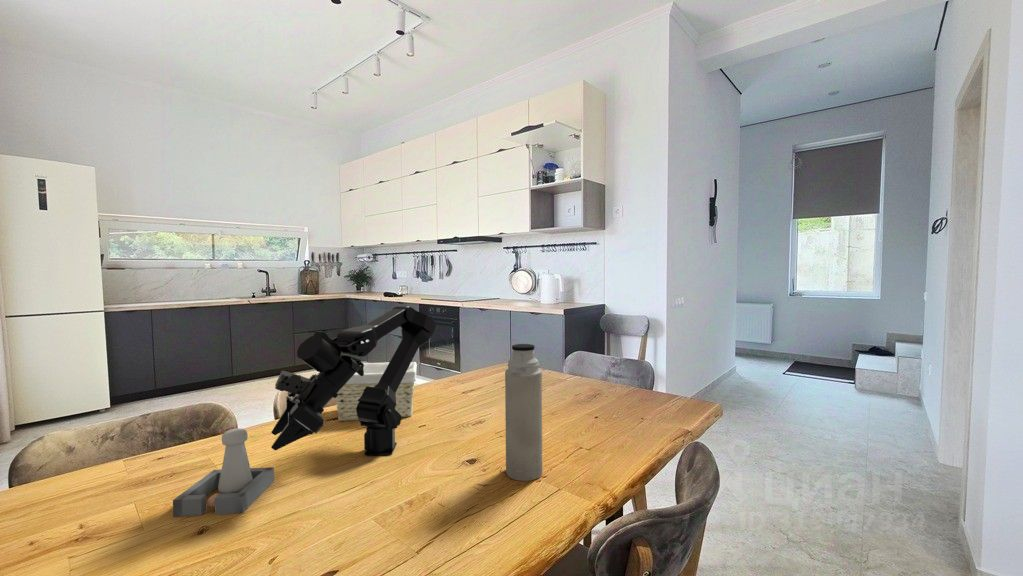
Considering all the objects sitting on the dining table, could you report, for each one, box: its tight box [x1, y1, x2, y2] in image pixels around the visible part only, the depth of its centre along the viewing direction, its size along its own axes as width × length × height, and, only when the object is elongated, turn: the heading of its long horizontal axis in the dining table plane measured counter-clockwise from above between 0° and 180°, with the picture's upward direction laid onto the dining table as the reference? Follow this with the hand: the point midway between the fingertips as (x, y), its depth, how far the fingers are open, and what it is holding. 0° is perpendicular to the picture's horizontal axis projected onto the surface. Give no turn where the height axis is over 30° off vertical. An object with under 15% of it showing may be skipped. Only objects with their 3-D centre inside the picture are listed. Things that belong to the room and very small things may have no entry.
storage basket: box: [335, 361, 418, 422], centre depth 134 cm, size 24×16×15 cm
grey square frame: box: [172, 466, 275, 517], centre depth 83 cm, size 12×12×3 cm
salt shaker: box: [217, 427, 253, 494], centre depth 83 cm, size 6×6×13 cm
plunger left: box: [206, 492, 220, 507], centre depth 79 cm, size 2×2×2 cm
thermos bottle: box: [504, 343, 543, 482], centre depth 92 cm, size 8×8×28 cm
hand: (273, 441), depth 87 cm, fingers open, 9 cm apart
